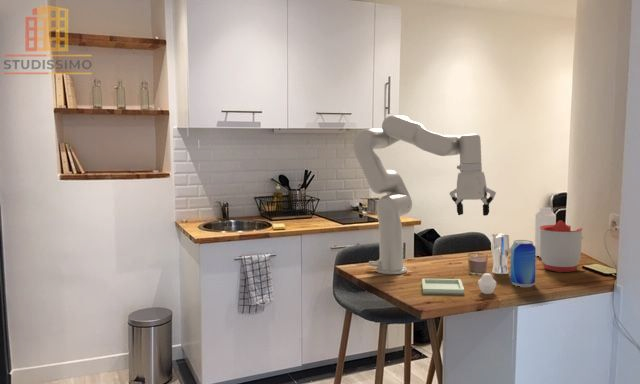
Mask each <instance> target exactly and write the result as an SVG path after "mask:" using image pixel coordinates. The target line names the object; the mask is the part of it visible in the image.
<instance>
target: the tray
mask: <svg viewBox="0 0 640 384" xmlns="http://www.w3.org/2000/svg"><path fill="white" fill-rule="evenodd" d="M421 286H422V294H423V295H456V296H457V295H458V296H459V295H460V296H462V295H465V288H464V285H463V282H462V279H461V278H421Z"/></svg>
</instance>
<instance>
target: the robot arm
mask: <svg viewBox="0 0 640 384" xmlns="http://www.w3.org/2000/svg"><path fill="white" fill-rule="evenodd" d="M399 141H402V142H405V143H408V144H411V145H412V146H415V147H416V148H418V149H421V150H422V151H424V152H428V153H431V154H433V155H436V156H440V157H447V156H450V157H451V156H459V165H456V170H459V172H457V179H456V188H455V189H453V190H452V191H449V192H448V193H449V194H448V195H450V196H449V197H450V198H451V200H452V202H454V203H455V205H456V212H457V215H458V216H462V215H463V214H464V205H463V203H462V202H463V201H465V200H466V201H467V200H468V201H471V200H473V201H474V200H475V201H477V200H481V202H482V203H483V204H482V215H483V216H484V217H485V216H488V215H489V213H490V204H491V203H492V202H493V200H494V198H495V196H496V195H497V194H496V193H497V191H494V190H493V189H491V188H489V187H487V182H486V181H487V180H486V176H485V173H484V171H483V169H482V168H483V167H482V145H481V141H482V140H481V136H480V135H479V134H477V133H469V134H462V135H456V134H453V135H452V134H446V135H445V134H444V135H442V134H440V133H437V132H434V131H430V130H428V129H426V128H425V126H424V124H422V123H420V122H417V121H413V120H411V119H410V118H409V117H408V116H406V115H394V114H393V115H389V116H386V117H385V118H384V119H383V120H382V124H381V127H380V128H376V127H374V128H373V127H371V128H370V127H368V128H364V129H361V130H359V131H358V132H357V134H355V137H354V138H353V142H352V143H353V144H352V149H353V153H354V156H355V158H356V160H357V162H358V164H359V166H360V167H361V169H362V172H363V174H364V177H365V180H366V181H367V184H368V185H369V188H370V190H371V192H373V193H374V194H377V195H381V194H382V195H383V194H386V195H383V196H381V197H380V198H379V199H378V201H377V203H376V207H375V209H376V210H375V211H376V213H377V221H378V235H379V236H378V238H379V239H378V240H379V242H378V243H379V245H378V246H379V248H378V249H379V259H377V260H369V261H368V266H371V267H376V269H375V271H376V272H377V274H378V273H379V274H383V275H401V274H406V273H407V270H408V268H407V267H406V266H404V243H403V242H404V241H403V239H404V238H403V236H404V235H403V225H402V221H401V218H400V217H402V216H405V215H407V214H409V213H410V212H411V211H412V209H413V199H412V197H411V195H410V193H409V191H408V188H407V186H406V185H405V182H404V180H403V178H402V177H401V175H400V174H399V172H397V171H395V170H393V169H386V168H385V167H384V165H383V163H382V160H381V158H380V157H379V156H378V155H377V154H376V152H375V151H374V150H378V149H379V150H380V149H385V148H387V147H390V146H392V145H394V144H395V143H396V142H399ZM488 194H489V197H488Z"/></svg>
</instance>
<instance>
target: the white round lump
mask: <svg viewBox="0 0 640 384" xmlns="http://www.w3.org/2000/svg"><path fill="white" fill-rule="evenodd" d="M477 285H478V287H479V289H480V291H481V293H482V294H484V295H491V294H493V291H494V290H495V288H496V286H497V281H496V280H495V279H494V278H493V275H492V274H491V273H488V272H487V273H483V274H482V275H481V277H480V279H478V281H477Z"/></svg>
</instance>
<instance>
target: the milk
mask: <svg viewBox="0 0 640 384" xmlns="http://www.w3.org/2000/svg"><path fill="white" fill-rule="evenodd" d="M556 223H557V216H556V214H555V213H554V212H553V211H552V207H551V206H549V207H540V208H539V212H537V213H536V214H535V231H534V232H535V233H534V234H535V235H534V237H535V238H534V239H535V240H534V241H535V245H534V246H535V249H536V253H535V255H536V256H535V257H537V256H539V257H538V258H541V253H540V227H541V226H544V225H555V224H556Z"/></svg>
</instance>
